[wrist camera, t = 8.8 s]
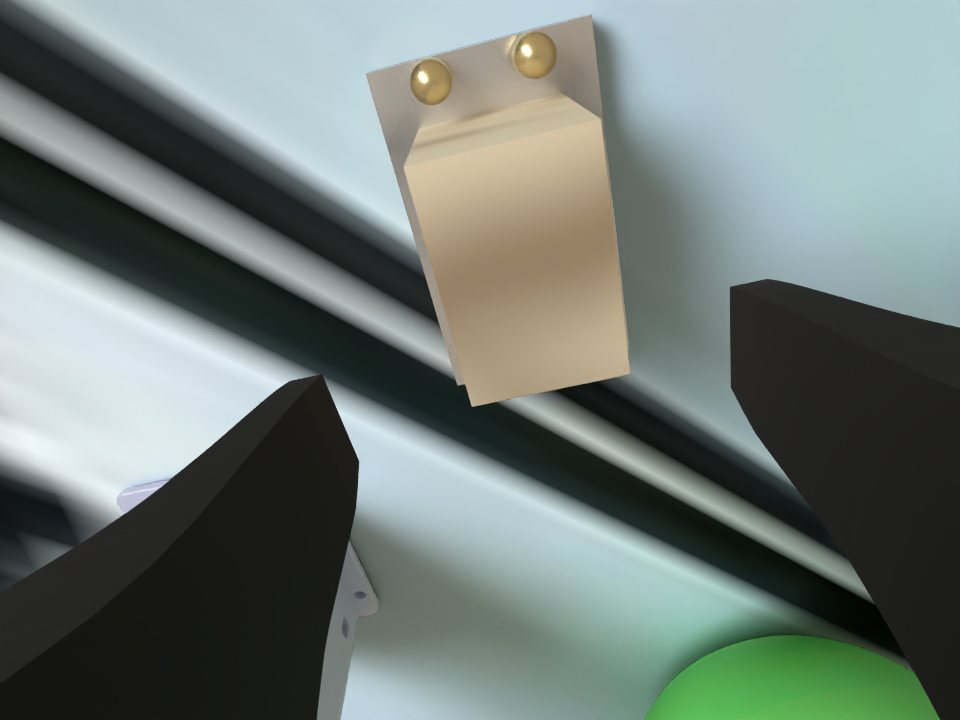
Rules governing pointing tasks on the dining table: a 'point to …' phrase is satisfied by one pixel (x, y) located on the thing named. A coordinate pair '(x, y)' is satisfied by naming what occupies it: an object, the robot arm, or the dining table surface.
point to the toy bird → (793, 684)
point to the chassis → (484, 104)
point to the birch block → (522, 246)
